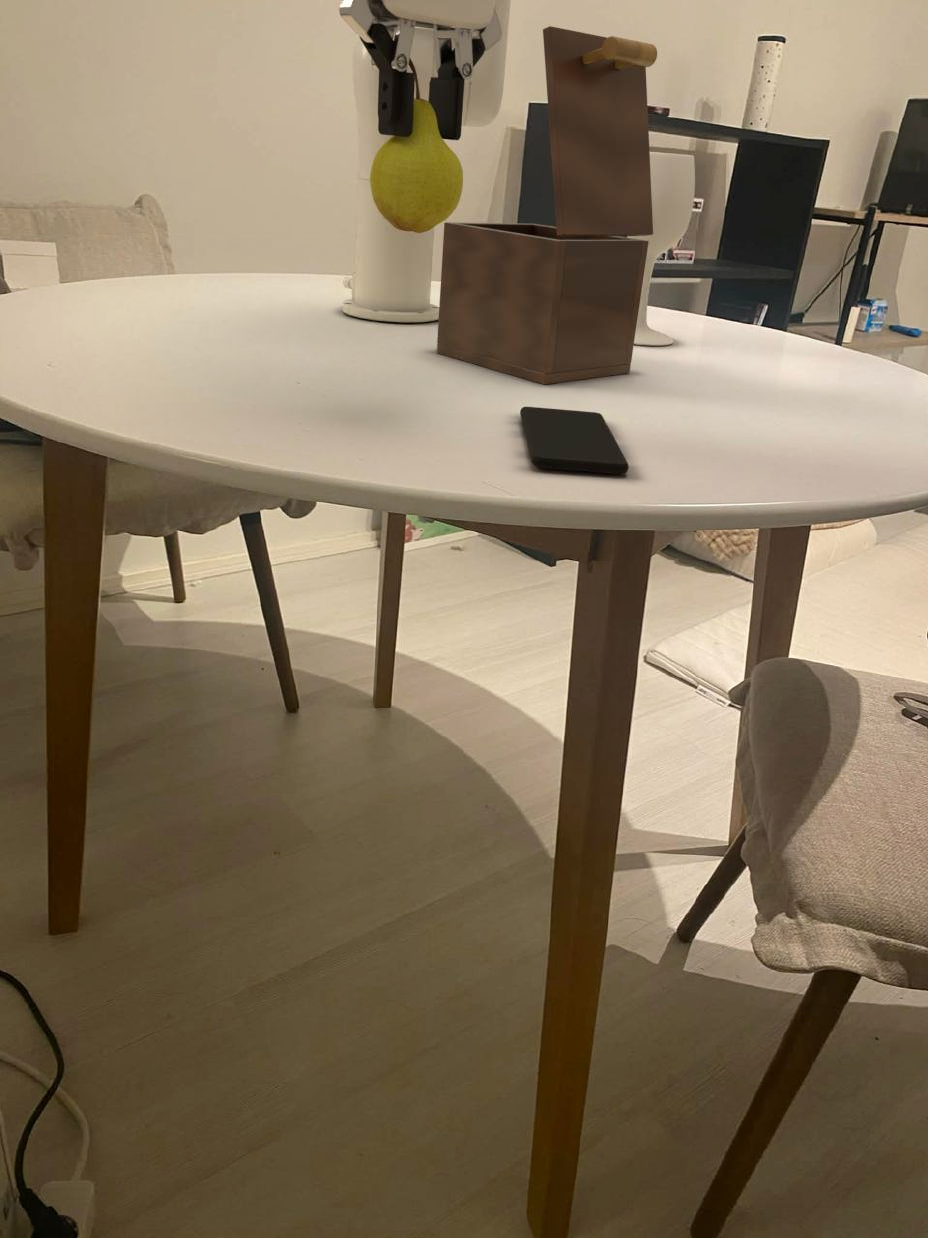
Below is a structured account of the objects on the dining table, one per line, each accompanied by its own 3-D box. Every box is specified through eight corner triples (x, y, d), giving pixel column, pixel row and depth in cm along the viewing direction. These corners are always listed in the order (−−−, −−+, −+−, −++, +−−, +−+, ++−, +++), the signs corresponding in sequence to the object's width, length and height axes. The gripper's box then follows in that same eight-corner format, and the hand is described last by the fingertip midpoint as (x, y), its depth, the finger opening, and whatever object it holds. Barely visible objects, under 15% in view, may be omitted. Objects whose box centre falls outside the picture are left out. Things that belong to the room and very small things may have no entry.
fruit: (478, 236, 74) (489, 54, 69) (403, 238, 70) (408, 46, 65) (425, 225, 79) (432, 53, 73) (352, 226, 75) (353, 46, 70)
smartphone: (602, 412, 82) (630, 465, 68) (600, 422, 82) (629, 476, 69) (520, 405, 82) (532, 457, 68) (518, 415, 82) (531, 468, 68)
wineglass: (678, 348, 118) (710, 156, 109) (607, 343, 118) (632, 150, 109) (666, 335, 126) (695, 155, 117) (599, 330, 126) (622, 149, 116)
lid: (542, 28, 84) (587, 9, 81) (637, 47, 93) (682, 30, 89) (556, 235, 89) (599, 226, 85) (646, 235, 97) (689, 227, 93)
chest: (436, 352, 105) (444, 222, 99) (521, 344, 113) (533, 223, 107) (544, 384, 94) (559, 240, 89) (629, 373, 102) (649, 240, 97)
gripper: (489, -142, 71) (469, 139, 79) (293, -203, 61) (294, 127, 69) (564, -154, 66) (535, 146, 75) (366, -223, 56) (357, 134, 64)
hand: (419, 134), depth 72 cm, fingers closed on fruit, 3 cm apart
